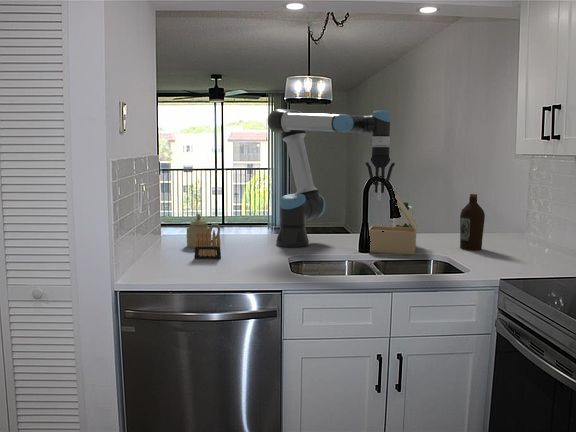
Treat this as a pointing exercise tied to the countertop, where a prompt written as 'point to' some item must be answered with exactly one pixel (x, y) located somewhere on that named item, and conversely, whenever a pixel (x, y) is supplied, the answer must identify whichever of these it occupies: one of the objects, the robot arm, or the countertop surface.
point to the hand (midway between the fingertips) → (379, 200)
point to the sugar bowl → (198, 226)
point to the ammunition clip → (202, 247)
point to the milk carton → (403, 218)
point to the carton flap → (405, 211)
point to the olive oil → (471, 225)
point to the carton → (392, 240)
